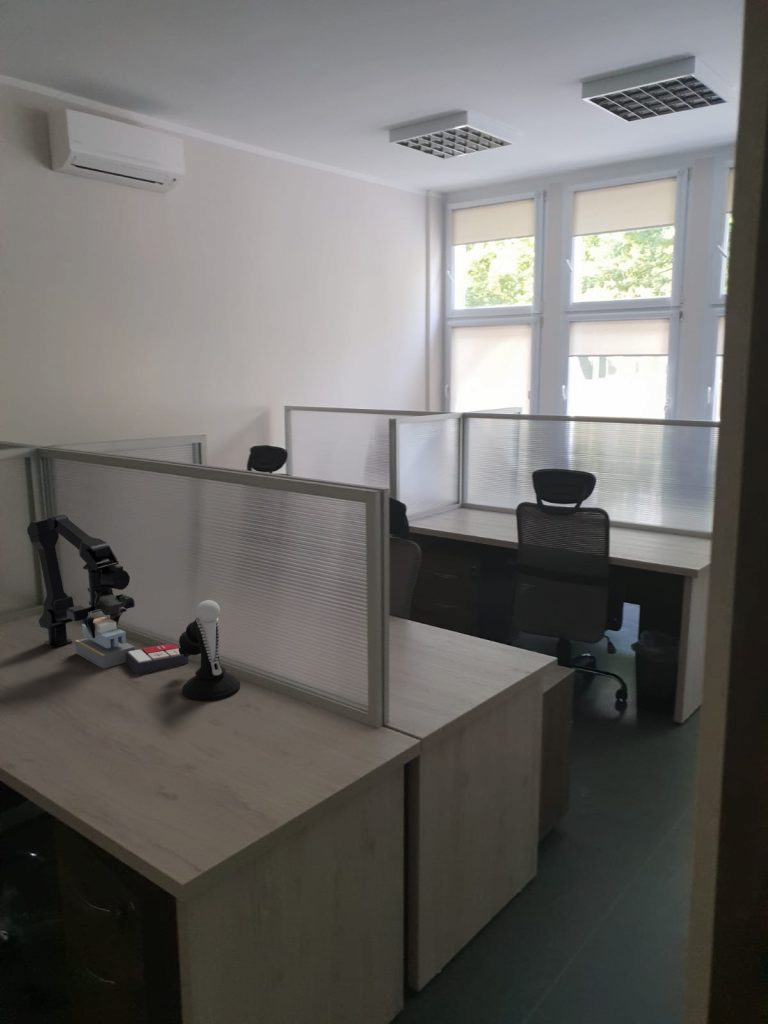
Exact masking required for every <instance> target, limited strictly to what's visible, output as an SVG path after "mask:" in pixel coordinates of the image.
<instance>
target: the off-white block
mask: <svg viewBox="0 0 768 1024" xmlns="http://www.w3.org/2000/svg"><path fill="white" fill-rule="evenodd" d="M94 624H95V631H97V632H99V633H103V632H107V631H111V630H114V629H117V628H118V626H117V627H116V622H115V621H113V620H111V619H110V618H109V620H105V621H101V622H97V623H94Z"/></svg>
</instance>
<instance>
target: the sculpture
mask: <svg viewBox="0 0 768 1024" xmlns="http://www.w3.org/2000/svg"><path fill="white" fill-rule="evenodd" d="M195 612H196V616H197V617H196V618H195V620H194V621H192V622H190V623H188V625H187V626H186V628H185V631H183V632H182V633H181V634H180V636H179V639H178V643H179V645H178V646H179V647H180V648H179V653H180V655H184V656H185V657H188V658H189V657H190V656H197V655H200V667H199V668H198V669H197V670H196V671H195V675H193V676H192V677H190V678H189V679H188V680H187V681H186V682H185V683H184V684H183V686H182V688H181V689H182V691H181V692H182V695H183V696H184V697H185V698H186V699H189V700H192V701H196V702H212V701H218V700H223V699H226V698H229V697H231V696H233V695H235V694H237V693H238V692H239V691H240V689H241V681H240V680H239V678H237V677H236V676H235V675H233V674H232V673H229V672H226V671H227V669H226V668H225V667H223V666H221V663H220V646H221V645H220V644H221V634H220V633H221V631H220V629H221V628H220V624H219V622H220V621H219V619H220V618H218V617H219V615H221V607H220V606H219V603H217V602H216V601H215V600H212V599H210V600H209V599H206V600H203V601H201V602H199V604H198V605H197V606H196V609H195Z"/></svg>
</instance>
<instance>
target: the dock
mask: <svg viewBox="0 0 768 1024" xmlns="http://www.w3.org/2000/svg"><path fill="white" fill-rule="evenodd" d="M74 642H75V651H76V655H79V656H81V657H82V658H84V659H86V660H87V661H89V662H90V663H92V664H95V665H96V666H98V667H99V668H101V669H103V670H104V669H108V668H111V667H114V666H118V665H121V664H126V663H127V660H126V653H127V652H128V651H134V650H136V646H135V645H132V644H131V643H128V642H126V643H125V644H121V643H119V642H118V643H119V645H118V646H113V645H111V648H105V647H103V646H101V645H99V644H98V643H96V642H94V641H92V640H90V639H88V638H86V637H84V638H81V639H76V640H75V641H74Z"/></svg>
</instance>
